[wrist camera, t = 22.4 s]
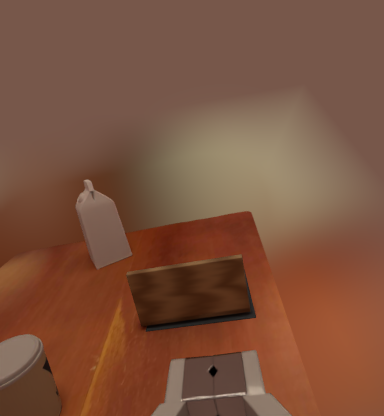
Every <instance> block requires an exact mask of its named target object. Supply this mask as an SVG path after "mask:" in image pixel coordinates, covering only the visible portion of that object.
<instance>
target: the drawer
mask: <svg viewBox="0 0 384 416" xmlns="http://www.w3.org/2000/svg"><path fill="white" fill-rule="evenodd" d="M126 276H127V280H128V283H129V286H130V290H131V293H132V296H133V300H134V303H135V306H136V310H137V313H138V316H139V320H140V323H141V326H149V325H156V324H163V323H171V322H178V321H185V320H193V319H200V318H207V317H214V316H222V315H229V314H236V313H244V312H250V305H249V298H248V292H247V285H246V279H245V273H244V266H243V260H242V255H234V256H228V257H221V258H215V259H209V260H202V261H196V262H189V263H183V264H176V265H170V266H164V267H157V268H151V269H144V270H138V271H131V272H128V273H127V275H126Z"/></svg>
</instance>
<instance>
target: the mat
mask: <svg viewBox="0 0 384 416" xmlns="http://www.w3.org/2000/svg"><path fill="white" fill-rule="evenodd" d="M244 273H245V270H244ZM245 279H246V285H247V292H248V298H249V305H250V312H244V313H236V314H229V315H222V316H214V317H207V318H200V319H193V320H185V321H178V322H171V323H163V324H156V325H149V326H147V328H146V331H154V330H162V329H170V328H178V327H186V326H194V325H202V324H209V323H217V322H225V321H233V320H241V319H249V318H256V315H255V311H254V307H253V303H252V299H251V295H250V291H249V287H248V283H247V278H246V274H245Z"/></svg>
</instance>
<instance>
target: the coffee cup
mask: <svg viewBox="0 0 384 416" xmlns="http://www.w3.org/2000/svg"><path fill="white" fill-rule="evenodd" d="M61 406H62V405H61V399H60V396H59V393H58V390H57V387H56V384H55V381H54V378H53V375H52V372H51V369H50V366H49V363H48V360H47V357H46V354H45V352H44V349H43V343H42V341H41V340H40V339H39V338H37V337H36V336H34V335H20V336H16V337H13V338H10V339H8V340H5V341H3V342H1V343H0V416H59V414H60V412H61Z"/></svg>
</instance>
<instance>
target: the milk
mask: <svg viewBox="0 0 384 416" xmlns="http://www.w3.org/2000/svg"><path fill="white" fill-rule="evenodd" d="M84 185H85V190H84V192H83V193H81V194H80V195H79V197H78V200H77V203H76V211H77V214H78V218H79V221H80V224H81V228H82V231H83V235H84V238H85V241H86V245H87V248H88V251H89V255H90V257H91V259H92V261H93V263H94V265H95V267H96V268H97V269H99V268H102V267H104V266H107V265H109V264H112V263H114V262H117V261H119V260H122V259H124V258H127V257H129V256H132V253H131V250H130V247H129V244H128V241H127V238H126V235H125V232H124V229H123V226H122V223H121V220H120V217H119V215H118V211H117V209H116V206H115V203H114V202H113V200H112V199H110V198H108V197H106V196H105V195H103V194H101V193H99V192H97V191H95V190H94V188H93V185H92V182H91V181H90V180H84Z"/></svg>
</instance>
